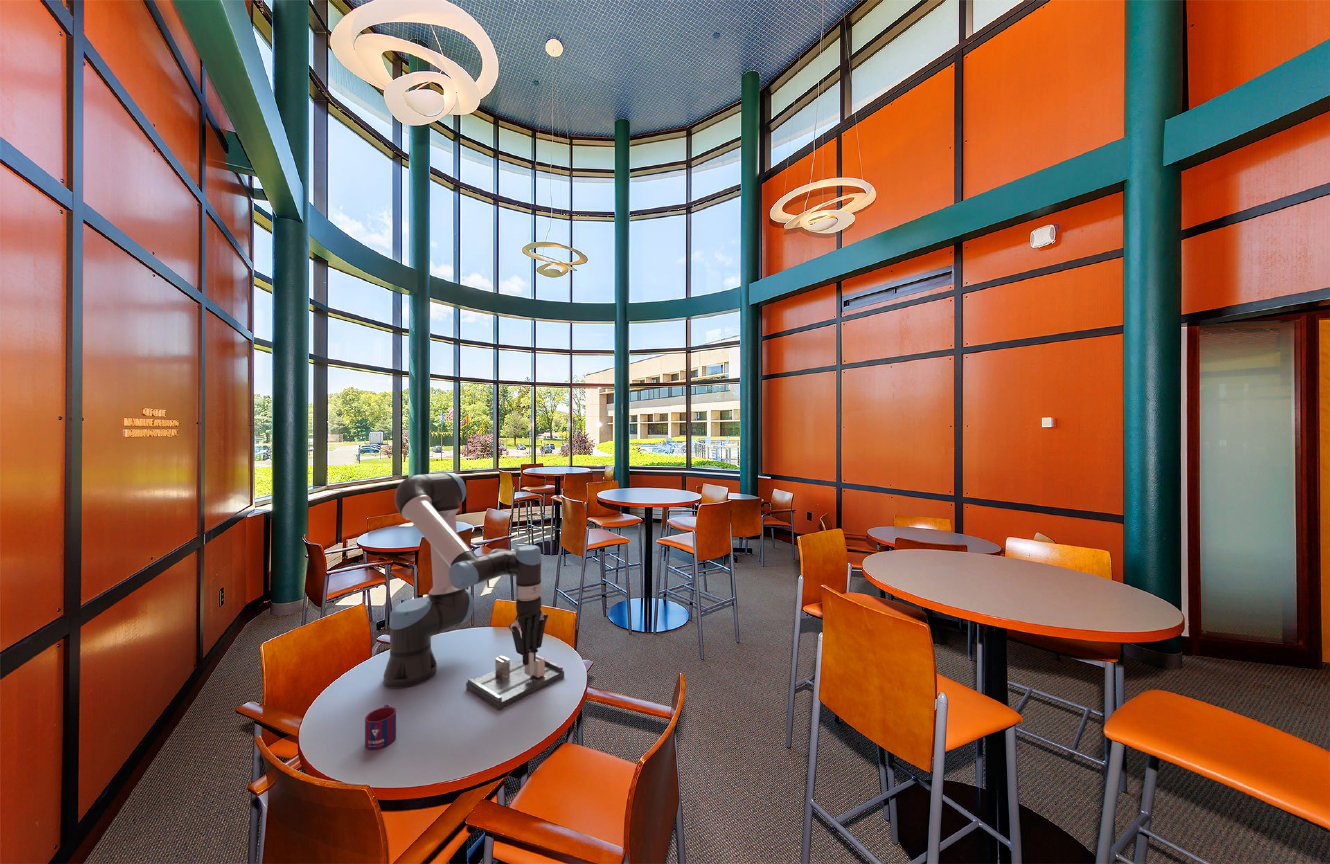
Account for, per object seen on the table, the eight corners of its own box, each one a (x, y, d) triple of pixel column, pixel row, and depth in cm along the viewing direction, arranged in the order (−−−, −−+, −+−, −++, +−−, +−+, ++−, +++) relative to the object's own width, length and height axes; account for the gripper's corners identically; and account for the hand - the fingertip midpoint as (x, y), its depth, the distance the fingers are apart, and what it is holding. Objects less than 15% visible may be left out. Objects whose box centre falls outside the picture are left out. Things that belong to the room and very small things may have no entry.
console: (466, 689, 141) (466, 664, 141) (530, 660, 159) (530, 639, 159) (499, 710, 130) (498, 683, 130) (564, 677, 148) (564, 653, 148)
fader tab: (530, 673, 146) (530, 656, 146) (536, 670, 148) (536, 653, 148) (537, 677, 143) (537, 660, 143) (544, 674, 145) (544, 656, 145)
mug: (360, 751, 113) (360, 723, 114) (377, 726, 123) (377, 701, 123) (390, 747, 115) (390, 720, 115) (404, 723, 125) (404, 698, 125)
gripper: (517, 605, 136) (517, 686, 136) (553, 593, 146) (554, 669, 146) (503, 600, 141) (503, 678, 140) (539, 589, 151) (539, 662, 150)
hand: (529, 673), depth 143 cm, fingers closed
